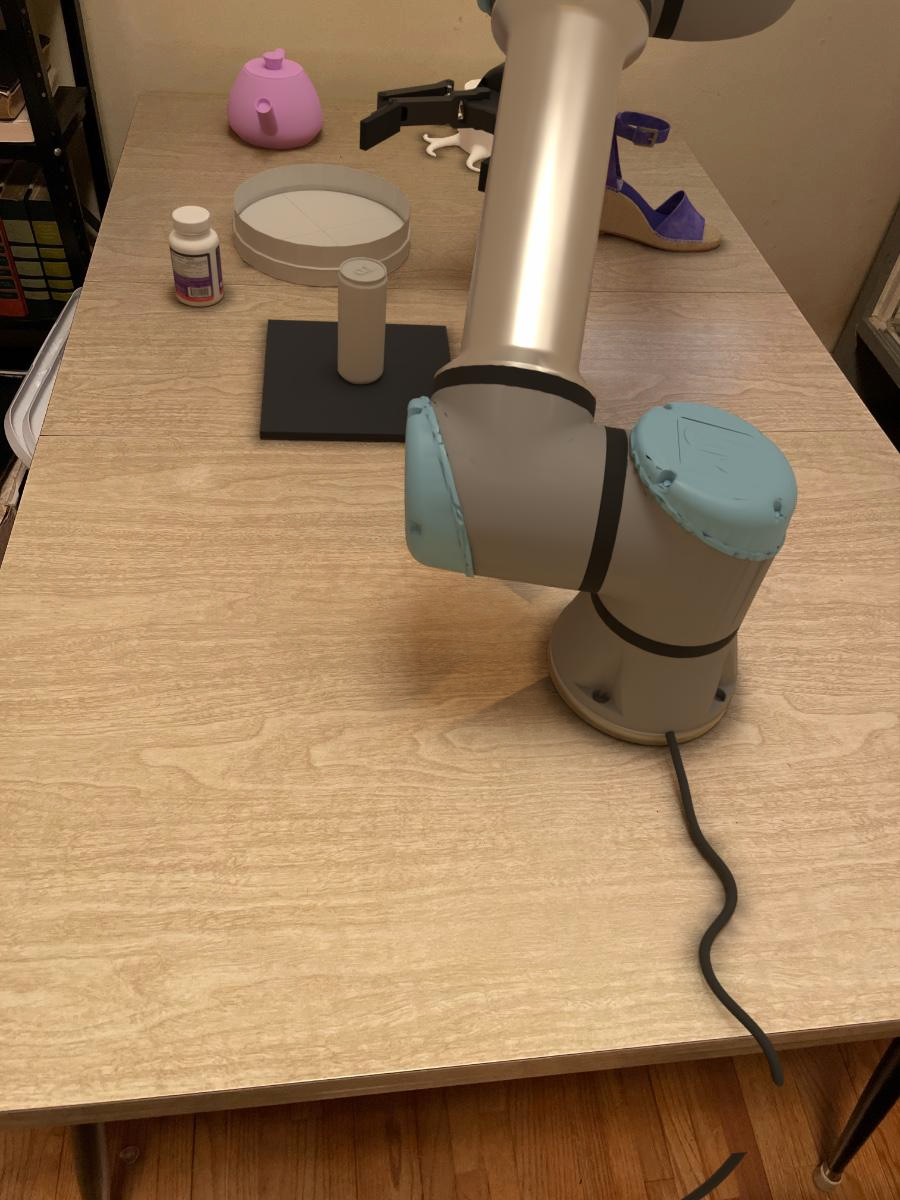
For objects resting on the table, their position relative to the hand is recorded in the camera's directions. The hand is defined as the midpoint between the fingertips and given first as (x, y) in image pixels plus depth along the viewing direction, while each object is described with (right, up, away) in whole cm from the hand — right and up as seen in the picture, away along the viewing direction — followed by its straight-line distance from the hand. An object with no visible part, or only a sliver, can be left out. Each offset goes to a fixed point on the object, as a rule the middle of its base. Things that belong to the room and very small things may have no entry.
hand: (421, 156), depth 93 cm
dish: (-13, +2, +29) cm, 32 cm away
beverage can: (-7, -19, +9) cm, 22 cm away
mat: (-7, -20, +9) cm, 23 cm away
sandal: (+30, +7, +38) cm, 49 cm away
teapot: (-23, +25, +49) cm, 59 cm away
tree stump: (+8, +26, +53) cm, 60 cm away
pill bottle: (-26, -8, +18) cm, 33 cm away
